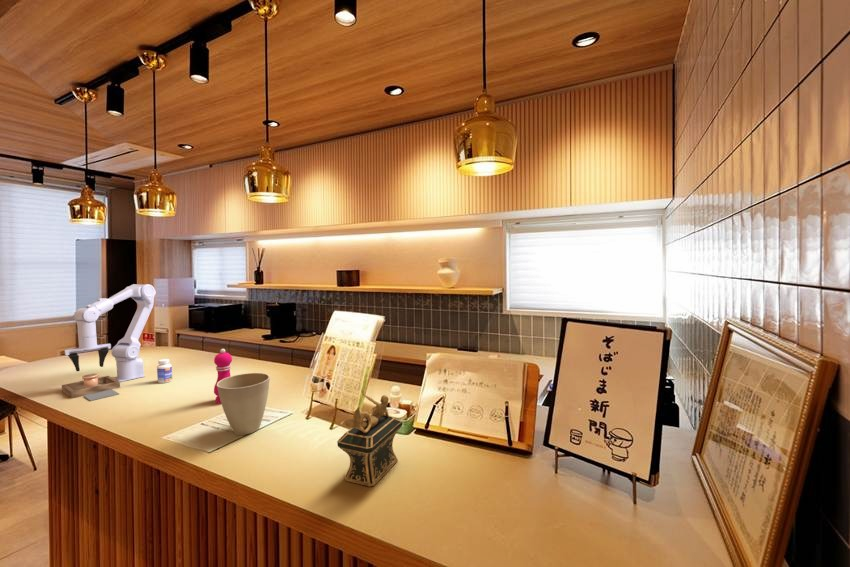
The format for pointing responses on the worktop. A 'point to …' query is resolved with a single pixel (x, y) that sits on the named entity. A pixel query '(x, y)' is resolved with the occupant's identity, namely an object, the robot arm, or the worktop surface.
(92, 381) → the terracotta pot
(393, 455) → the decorative box
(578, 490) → the worktop surface
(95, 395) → the slate mat
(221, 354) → the pepper mill
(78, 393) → the frame
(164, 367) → the pill bottle
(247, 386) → the plant pot
